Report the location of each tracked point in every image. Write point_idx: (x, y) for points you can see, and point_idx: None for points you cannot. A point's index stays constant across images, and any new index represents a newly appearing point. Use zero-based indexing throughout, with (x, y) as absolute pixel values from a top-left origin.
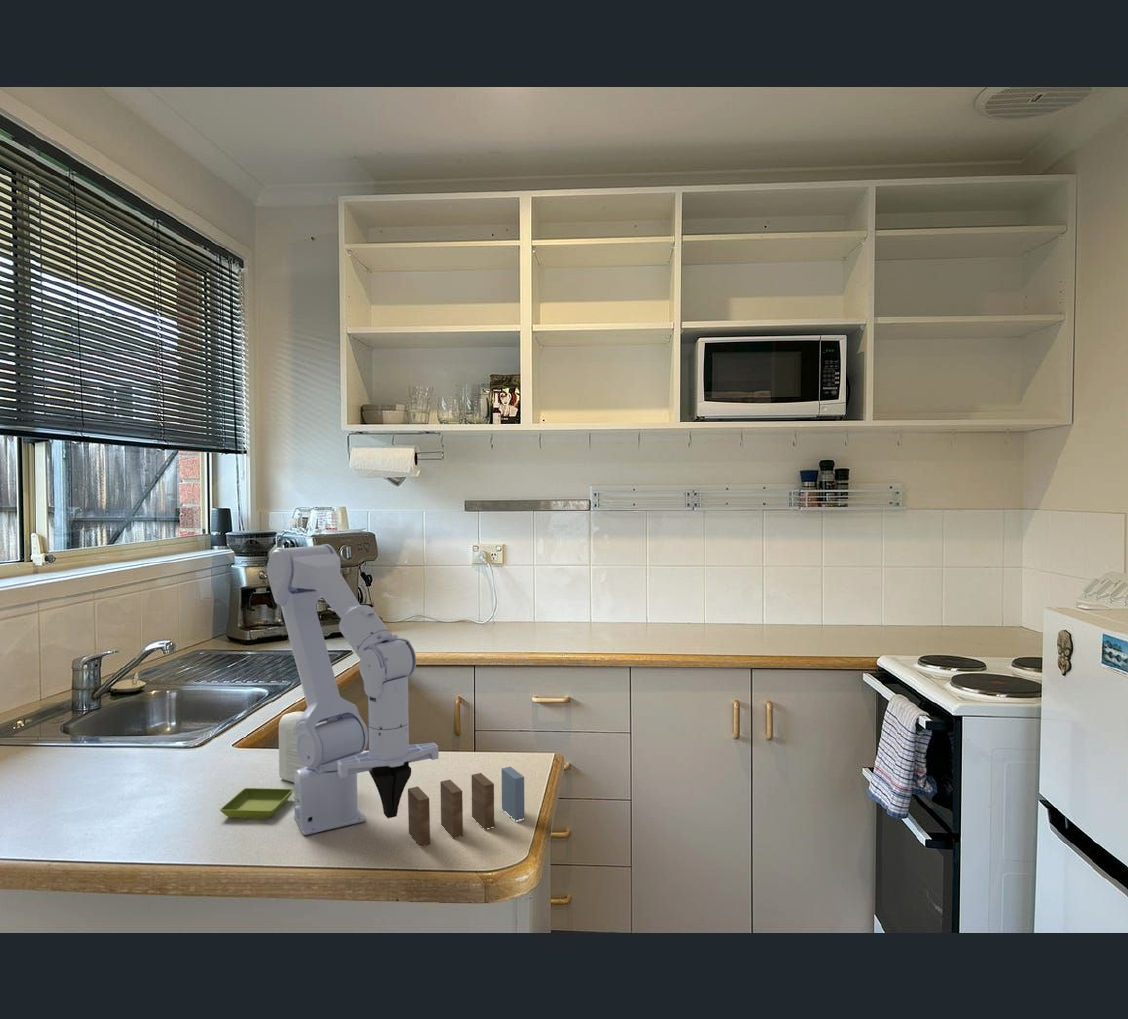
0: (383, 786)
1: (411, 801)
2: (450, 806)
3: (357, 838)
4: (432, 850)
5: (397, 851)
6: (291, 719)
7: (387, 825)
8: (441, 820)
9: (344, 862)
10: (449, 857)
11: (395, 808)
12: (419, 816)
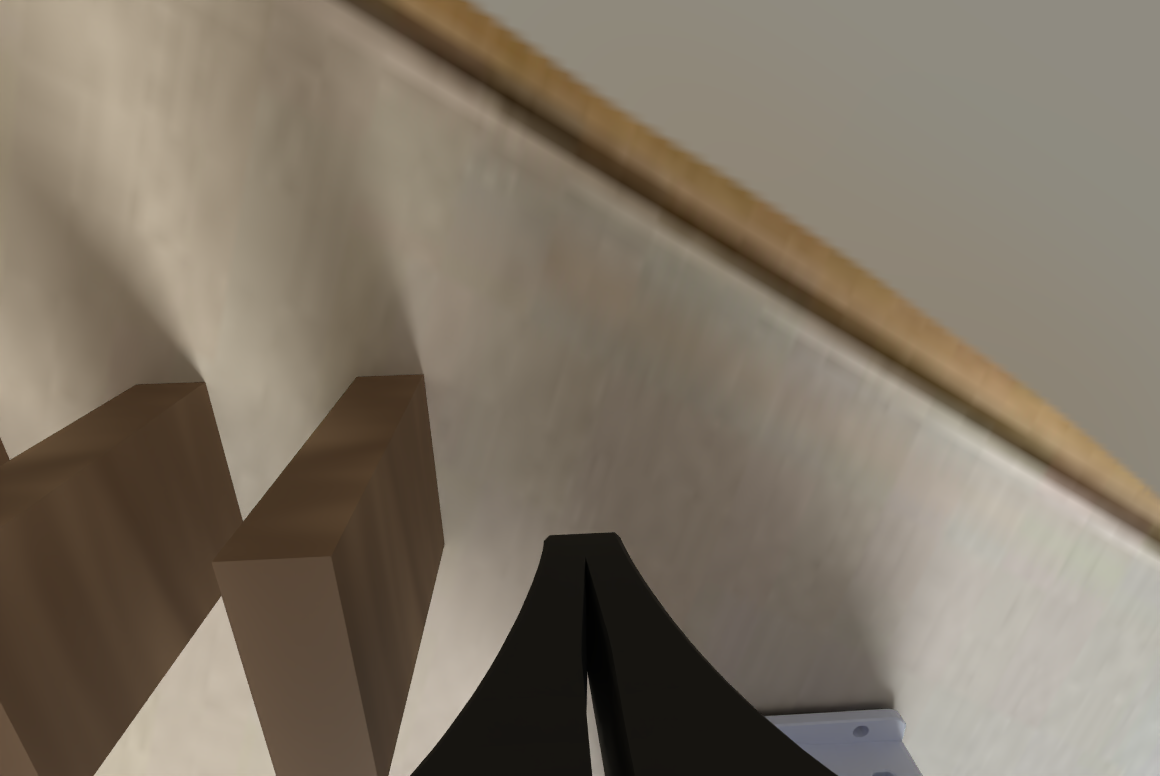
0: (771, 760)
1: (389, 662)
2: (81, 524)
3: (697, 600)
4: (357, 302)
5: (555, 387)
6: None
7: None
8: None
9: (843, 402)
10: (267, 156)
11: (562, 568)
12: (372, 469)
